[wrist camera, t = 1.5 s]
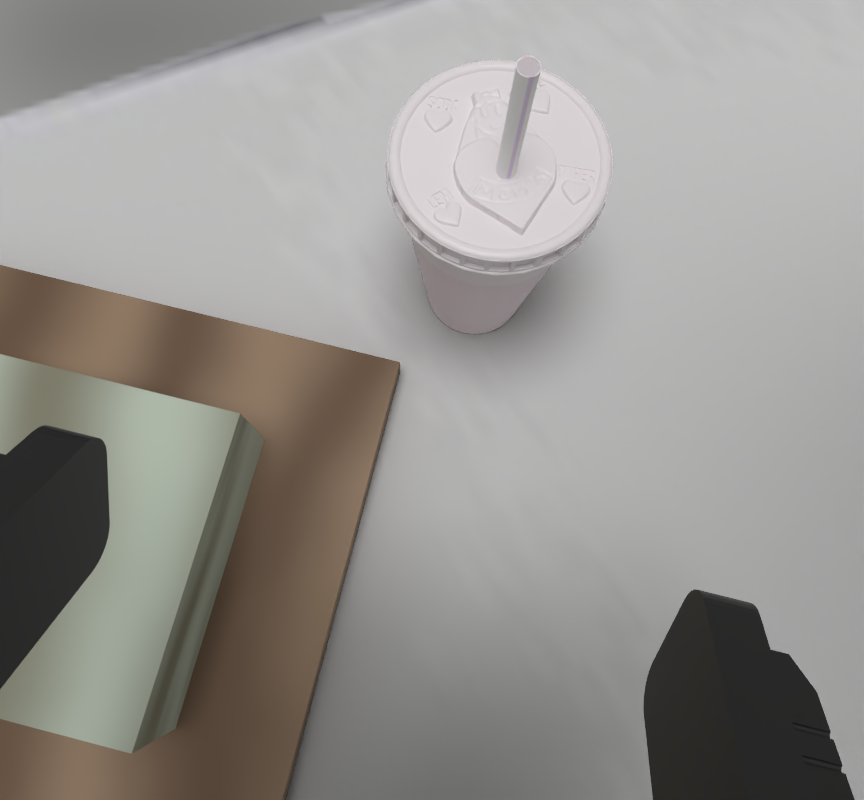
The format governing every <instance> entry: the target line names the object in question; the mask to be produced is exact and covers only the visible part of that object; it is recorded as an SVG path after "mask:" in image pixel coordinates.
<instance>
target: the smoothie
mask: <svg viewBox="0 0 864 800" xmlns="http://www.w3.org/2000/svg"><path fill="white" fill-rule="evenodd" d="M612 173H613V156H612V148H611V144H610V140H609V136H608V134H607V131H606V128H605V126H604V124H603V122H602V120H601V118H600V116H599V115H598V113H597V111H596V110H595V109H594V107H593V106H592V105H591V103H590V102H589V101H588V100H587V99H586V98H585V97H584V96H583V95H582V94H581V93H580V92H579V91H578V90H577V89H576V88H575V87H573V86H572V85H571V84H569V83H568V82H567V81H565V80H563V79H562V78H560V77H559V76H557V75H555V74H553V73H551V72H549V71H547V70H544V69H542V68H541V63H540V61H539V60H538V59H537V58H535V57H533V56H523V57H521V58H520V59H519V60H518V61H517V62H516V61H508V60H484V61H476V62H471V63H466V64H463V65H459V66H456V67H453V68H451V69H448V70H446V71H444V72H442V73H440V74H438V75H436V76H435V77H433V78H432V79H430V80H428V81H427V82H426V83H424V84H423V85H422V86H421V87H419V88H418V89H417V90H416V91H415V92H414V93H413V94H412V95H411V97H410V98H409V99H408V100H407V101H406V103H405V104H404V106H403V107H402V109H401V110H400V112H399V114H398V116H397V117H396V119H395V122H394V124H393V127H392V130H391V133H390V137H389V143H388V152H387V163H386V176H387V189H388V194H389V197H390V200H391V202H392V205H393V208H394V210H395V213H396V215H397V218H398V219H399V221H400V222H401V223H402V225H403V226H404V227H405V229H406V230H407V231H408V233H409V234H410V236H411V237H412V241H413V245H414V248H415V252H416V255H417V259H418V263H419V266H420V270H421V274H422V277H423V281H424V284H425V288H426V292H427V295H428V299H429V302H430V305H431V308H432V309H433V311H434V313H435V314H436V316H437V317H438V318H439V319H440V320H441V321H442V322H443V323H444V324H445V325H447V326H448V327H450V328H452V329H454V330H456V331H459V332H462V333H467V334H482V333H487V332H490V331H493V330H495V329H497V328H499V327H501V326H502V325H503V324H505V323H506V322H507V321H508V320H509V319H510V318H511V316H512V315H513V314H514V313H515V311H516V310H517V309H518V307H519V306H520V305H521V304H522V302H523V301H524V300H525V299H526V297H527V296H528V295H529V293H530V292H531V291H532V290H533V288H534V287H535V286H536V285H537V283H538V282H539V281H540V279H541V278H542V277H543V276H544V274H545V273H546V272H547V271H548V269H549V268H550V267H551V265H552V264H554V263H555V262H557V261H558V260H560V259H561V258H563V257H565V256H566V255H568V254H569V253H571V252H572V251H574V250H575V249H576V248H577V247H578V246H579V245H580V244H581V242H582V241H583V240H584V239H585V238H586V237H587V236H588V234H589V233H590V232H591V231H592V230H593V229H594V227H595V224H596V222H597V220H598V218H599V216H600V214H601V211H602V209H603V207H604V205H605V200H606V198H607V195H608V192H609V189H610V185H611V180H612Z"/></svg>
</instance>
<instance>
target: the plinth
mask: <svg viewBox="0 0 864 800" xmlns="http://www.w3.org/2000/svg"><path fill="white" fill-rule="evenodd" d="M399 374H400V362H396V361H392V360H388V359H384V358H380V357H376V356H372V355H368V354H363V353H359V352H355V351H351V350H347V349H343V348H339V347H335V346H331V345H326V344H322V343H318V342H314V341H310V340H306V339H302V338H298V337H294V336H289V335H285V334H281V333H277V332H273V331H269V330H265V329H261V328H257V327H252V326H248V325H244V324H240V323H236V322H232V321H228V320H224V319H220V318H215V317H211V316H207V315H203V314H199V313H195V312H191V311H187V310H183V309H178V308H174V307H170V306H166V305H162V304H158V303H154V302H150V301H146V300H141V299H137V298H133V297H129V296H125V295H121V294H117V293H113V292H109V291H104V290H100V289H96V288H92V287H88V286H84V285H80V284H76V283H72V282H67V281H63V280H59V279H55V278H51V277H47V276H43V275H39V274H35V273H30V272H26V271H22V270H18V269H14V268H10V267H6V266H2V265H0V453H1V454H5V455H6V454H7V453H8V452H10V451H11V450H12V449H13V448H14V447H15V446H16V445H18V444H19V443H20V442H21V441H22V440H23V439H25V438H26V437H27V436H28V435H29V434H30V433H31V432H33V431H34V430H35V429H37V428H38V427H40V426H44V425H49V426H53V427H57V428H61V429H65V430H69V431H73V432H77V433H81V434H85V435H89V436H93V437H97V438H100V439H102V440H103V441H104V443H105V445H106V449H107V466H108V492H109V517H110V528H109V535H108V539H107V543H106V546H105V549H104V552H103V554H102V556H101V558H100V560H99V562H98V564H97V566H96V567H95V569H94V570H93V572H92V573H91V574H90V575H89V577H88V578H87V579H86V581H85V582H84V583H83V584H82V586H81V587H80V588H79V589H78V591H77V592H76V593H75V595H74V596H73V597H72V598H71V600H70V601H69V602H68V604H67V605H66V606H65V607H64V609H63V610H62V611H61V612H60V614H59V615H58V616H57V618H56V619H55V620H54V621H53V623H52V624H51V625H50V627H49V628H48V629H47V630H46V632H45V633H44V634H43V635H42V637H41V638H40V639H39V641H38V642H37V643H36V644H35V646H34V647H33V648H32V650H31V651H30V652H29V653H28V655H27V656H26V657H25V658H24V660H23V661H22V662H21V664H20V665H19V666H18V667H17V669H16V670H15V671H14V673H13V674H12V675H11V676H10V678H9V679H8V680H7V681H6V683H5V684H4V685H3V687H2V688H1V689H0V800H286V796H287V792H288V788H289V785H290V781H291V777H292V773H293V770H294V766H295V762H296V758H297V755H298V751H299V747H300V744H301V740H302V736H303V732H304V729H305V725H306V721H307V717H308V714H309V710H310V706H311V702H312V699H313V695H314V691H315V687H316V684H317V680H318V676H319V673H320V669H321V665H322V661H323V658H324V654H325V650H326V646H327V643H328V639H329V635H330V631H331V628H332V624H333V620H334V617H335V613H336V609H337V605H338V602H339V598H340V594H341V590H342V587H343V583H344V579H345V575H346V572H347V568H348V564H349V561H350V557H351V553H352V549H353V546H354V542H355V538H356V534H357V531H358V527H359V523H360V519H361V516H362V512H363V508H364V505H365V501H366V497H367V493H368V490H369V486H370V482H371V478H372V475H373V471H374V467H375V463H376V460H377V456H378V452H379V449H380V445H381V441H382V437H383V434H384V430H385V426H386V422H387V419H388V415H389V411H390V407H391V404H392V400H393V396H394V393H395V389H396V385H397V381H398V378H399Z"/></svg>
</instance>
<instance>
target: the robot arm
mask: <svg viewBox="0 0 864 800" xmlns="http://www.w3.org/2000/svg"><path fill="white" fill-rule="evenodd" d="M109 528H110V517H109V492H108V466H107V449H106V445H105V443H104V441H103V440H102V439H100V438H97V437H93V436H89V435H85V434H81V433H77V432H73V431H69V430H65V429H61V428H57V427H53V426H49V425H44V426H40V427H38V428H37V429H35V430H34V431H33V432H31V433H30V434H29V435H28V436H27V437H26V438H25V439H23V440H22V441H21V442H20V443H19V444H18V445H16V446H15V447H14V448H13V449H12V450H11V451H10V452H8V453H7V454H6V455H5V454H1V453H0V689H1V688H2V687H3V685H4V684H5V683H6V681H7V680H8V679H9V678H10V676H11V675H12V674H13V673H14V671H15V670H16V669H17V667H18V666H19V665H20V664H21V662H22V661H23V660H24V658H25V657H26V656H27V655H28V653H29V652H30V651H31V650H32V648H33V647H34V646H35V644H36V643H37V642H38V641H39V639H40V638H41V637H42V635H43V634H44V633H45V632H46V630H47V629H48V628H49V627H50V625H51V624H52V623H53V621H54V620H55V619H56V618H57V616H58V615H59V614H60V612H61V611H62V610H63V609H64V607H65V606H66V605H67V604H68V602H69V601H70V600H71V598H72V597H73V596H74V595H75V593H76V592H77V591H78V589H79V588H80V587H81V586H82V584H83V583H84V582H85V581H86V579H87V578H88V577H89V575H90V574H91V573H92V572H93V570H94V569H95V567H96V566H97V564H98V562H99V560H100V558H101V556H102V554H103V552H104V549H105V546H106V543H107V539H108V535H109ZM644 719H645V728H646V737H647V747H648V756H649V765H650V775H651V784H652V793H653V800H854V797H853V794H852V791H851V789H850V786H849V783H848V780H847V777H846V774H844V773H842V772H841V767H842V763H841V760H840V757H839V754H838V751H837V749H836V746H835V743H834V740H832V739H830V732H831V731H830V729H829V726H828V723H827V720H826V717H825V714H824V711H823V709H822V706H821V703H820V700H819V697H818V694H817V692H816V690H815V689H814V688H813V686H812V685H811V684H810V682H809V681H808V680H807V678H806V677H805V676H804V674H803V673H802V672H801V670H800V669H799V668H798V666H797V665H796V663H795V662H794V661H793V659H792V658H791V657H790V655H789V654H785V653H781V652H777V651H773V650H770V647H769V644H768V640H767V637H766V634H765V631H764V627H763V624H762V621H761V617H760V614H759V612H758V610H757V608H756V607H755V606H754V605H753V604H751V603H748V602H744V601H740V600H736V599H732V598H728V597H724V596H720V595H716V594H712V593H708V592H704V591H700V590H693V591H691V592H690V593H689V594H688V595H687V597H686V598H685V600H684V602H683V604H682V606H681V608H680V610H679V612H678V614H677V616H676V618H675V620H674V622H673V623H672V625H671V627H670V629H669V631H668V633H667V635H666V637H665V639H664V641H663V643H662V645H661V647H660V649H659V651H658V653H657V655H656V657H655V659H654V661H653V663H652V665H651V668H650V670H649V674H648V677H647V682H646V687H645V694H644Z"/></svg>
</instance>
